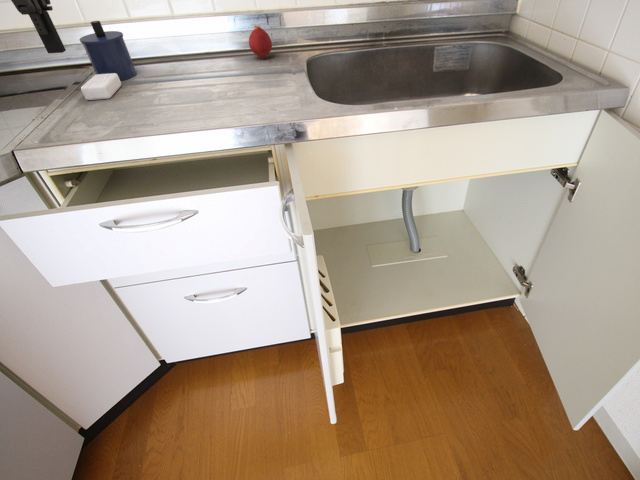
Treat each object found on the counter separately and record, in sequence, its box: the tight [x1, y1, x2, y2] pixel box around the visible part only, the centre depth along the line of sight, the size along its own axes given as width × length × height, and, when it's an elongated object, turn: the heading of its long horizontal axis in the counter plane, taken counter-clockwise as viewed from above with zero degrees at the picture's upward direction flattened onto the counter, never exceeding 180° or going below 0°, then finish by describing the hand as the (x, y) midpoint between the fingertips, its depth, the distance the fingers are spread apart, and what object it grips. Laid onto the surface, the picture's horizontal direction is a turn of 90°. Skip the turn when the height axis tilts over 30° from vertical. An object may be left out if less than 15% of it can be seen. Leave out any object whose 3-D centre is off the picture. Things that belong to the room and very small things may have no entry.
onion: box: [248, 24, 273, 60], centre depth 102 cm, size 6×6×8 cm
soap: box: [80, 73, 122, 101], centre depth 89 cm, size 9×6×3 cm, turn 6°
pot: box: [81, 36, 137, 82], centre depth 96 cm, size 9×9×8 cm
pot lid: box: [79, 20, 124, 45], centre depth 92 cm, size 9×9×4 cm
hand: (57, 51), depth 76 cm, fingers closed
